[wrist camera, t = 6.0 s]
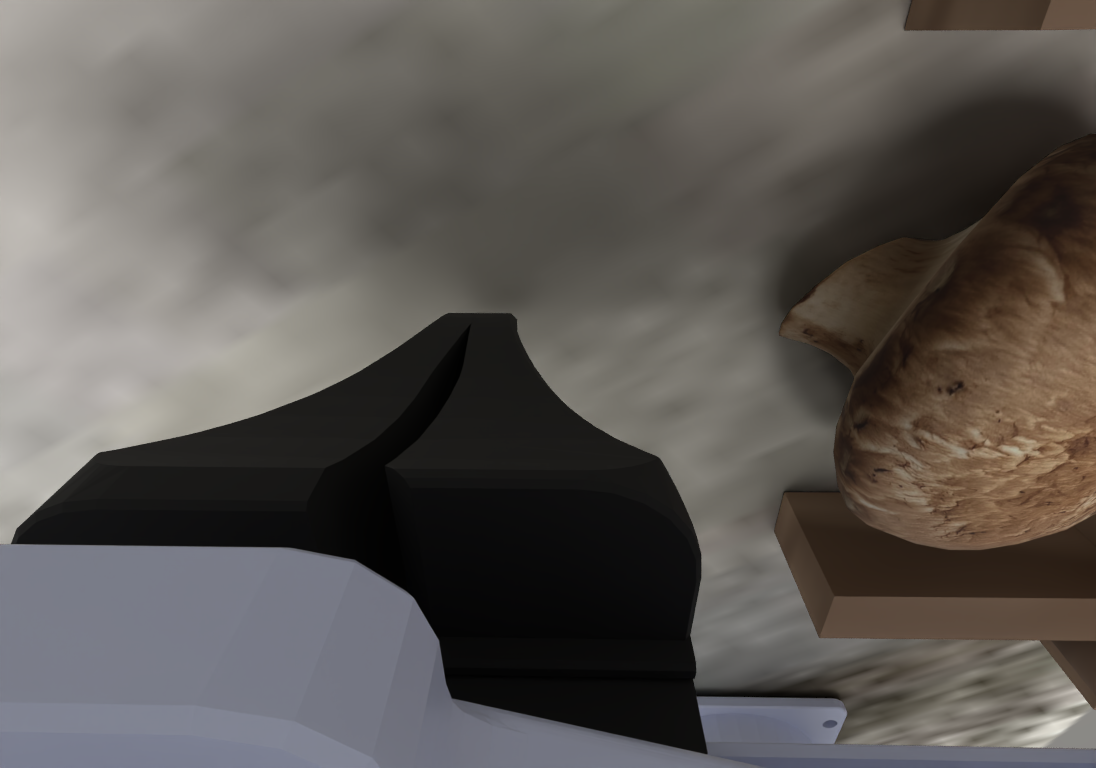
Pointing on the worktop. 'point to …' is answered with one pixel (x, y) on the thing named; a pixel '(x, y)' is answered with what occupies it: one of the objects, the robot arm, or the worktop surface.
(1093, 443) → the mushroom
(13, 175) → the worktop surface
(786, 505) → the wooden crate
